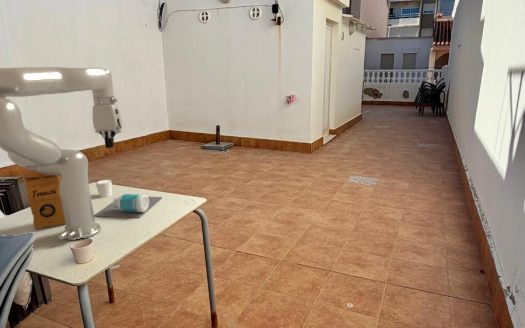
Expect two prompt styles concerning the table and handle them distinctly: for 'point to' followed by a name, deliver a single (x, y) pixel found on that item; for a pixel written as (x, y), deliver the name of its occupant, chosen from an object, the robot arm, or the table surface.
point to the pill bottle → (131, 202)
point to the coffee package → (44, 199)
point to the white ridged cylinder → (104, 188)
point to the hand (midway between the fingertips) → (110, 147)
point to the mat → (115, 212)
